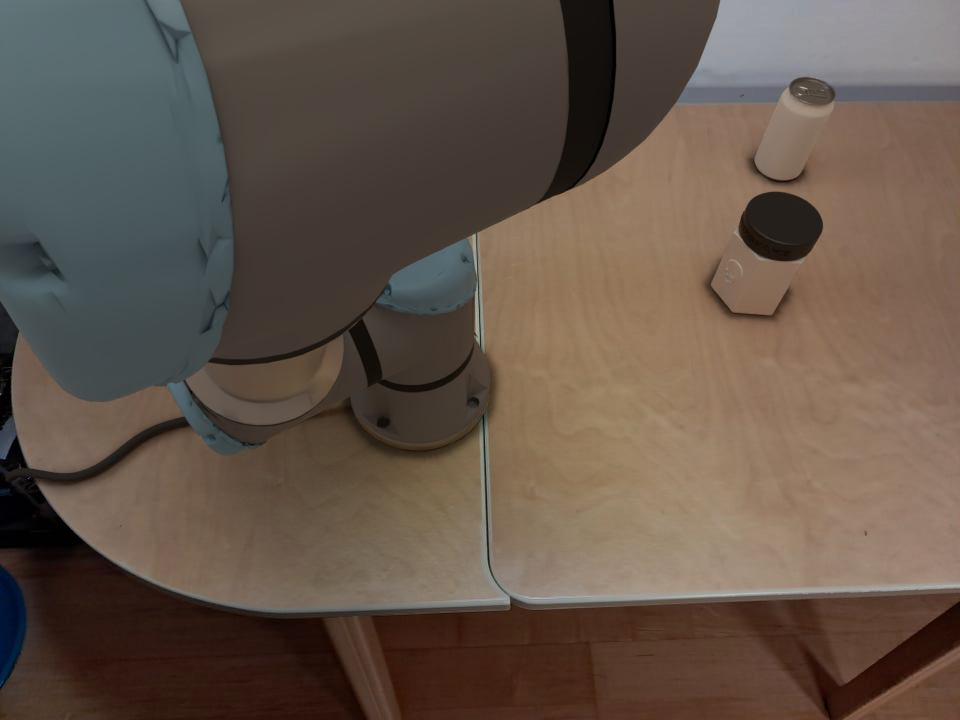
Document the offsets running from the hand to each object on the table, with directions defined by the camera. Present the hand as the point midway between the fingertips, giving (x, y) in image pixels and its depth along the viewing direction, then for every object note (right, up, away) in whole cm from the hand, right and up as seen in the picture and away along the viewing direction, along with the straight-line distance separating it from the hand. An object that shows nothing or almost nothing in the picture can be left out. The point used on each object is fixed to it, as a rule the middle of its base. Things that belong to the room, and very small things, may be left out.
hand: (131, 115), depth 67 cm
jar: (+66, -15, +17) cm, 69 cm away
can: (+74, +3, +30) cm, 80 cm away
